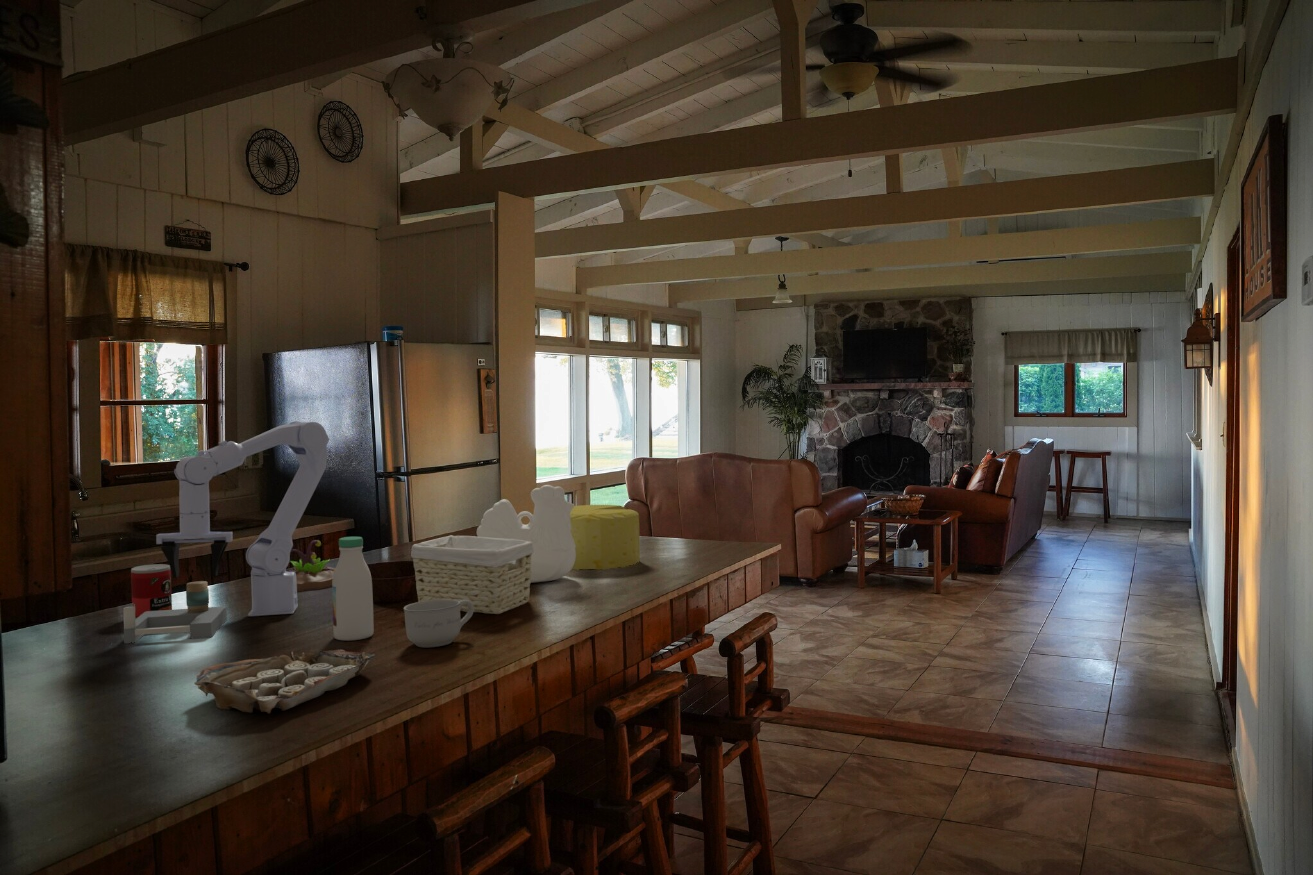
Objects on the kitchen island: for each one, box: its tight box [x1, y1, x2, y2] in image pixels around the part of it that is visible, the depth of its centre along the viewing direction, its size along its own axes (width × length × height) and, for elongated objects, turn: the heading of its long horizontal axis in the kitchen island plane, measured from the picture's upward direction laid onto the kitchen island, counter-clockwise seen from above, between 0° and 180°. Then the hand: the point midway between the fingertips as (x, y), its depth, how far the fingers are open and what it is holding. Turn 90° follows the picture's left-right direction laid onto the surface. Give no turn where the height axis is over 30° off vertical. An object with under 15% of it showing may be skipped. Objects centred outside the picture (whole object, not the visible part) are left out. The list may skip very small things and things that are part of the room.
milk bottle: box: [331, 536, 375, 642], centre depth 188 cm, size 8×8×20 cm
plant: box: [286, 539, 336, 592], centre depth 244 cm, size 20×20×11 cm
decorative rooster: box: [476, 484, 576, 584], centre depth 242 cm, size 25×16×25 cm, turn 75°
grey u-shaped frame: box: [123, 605, 228, 644], centre depth 195 cm, size 16×16×7 cm
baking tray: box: [194, 649, 376, 714], centre depth 155 cm, size 30×22×5 cm
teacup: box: [403, 599, 475, 649], centre depth 183 cm, size 14×11×8 cm
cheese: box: [570, 504, 641, 570], centre depth 268 cm, size 26×26×15 cm
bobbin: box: [185, 580, 210, 613], centre depth 200 cm, size 4×4×6 cm
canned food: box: [130, 563, 173, 619], centre depth 209 cm, size 8×8×11 cm
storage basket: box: [410, 534, 534, 615], centre depth 215 cm, size 24×16×15 cm
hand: (195, 576), depth 200 cm, fingers open, 7 cm apart
